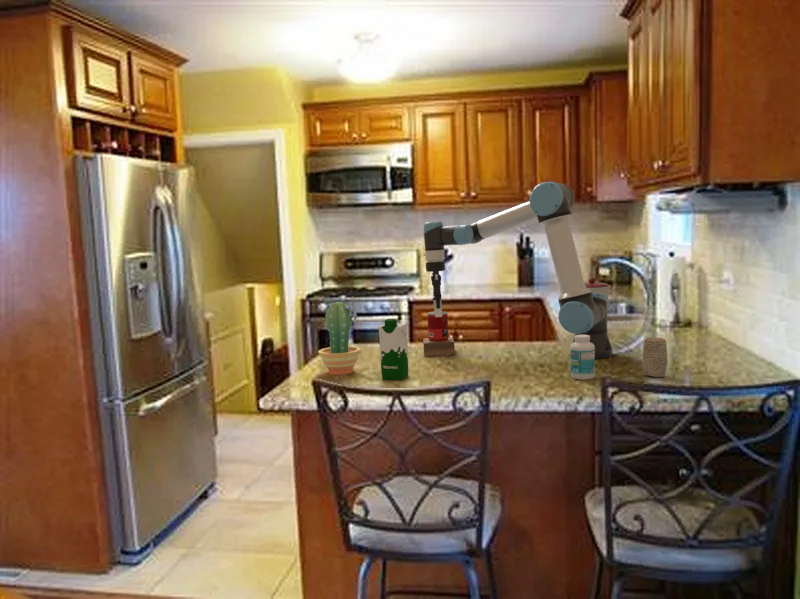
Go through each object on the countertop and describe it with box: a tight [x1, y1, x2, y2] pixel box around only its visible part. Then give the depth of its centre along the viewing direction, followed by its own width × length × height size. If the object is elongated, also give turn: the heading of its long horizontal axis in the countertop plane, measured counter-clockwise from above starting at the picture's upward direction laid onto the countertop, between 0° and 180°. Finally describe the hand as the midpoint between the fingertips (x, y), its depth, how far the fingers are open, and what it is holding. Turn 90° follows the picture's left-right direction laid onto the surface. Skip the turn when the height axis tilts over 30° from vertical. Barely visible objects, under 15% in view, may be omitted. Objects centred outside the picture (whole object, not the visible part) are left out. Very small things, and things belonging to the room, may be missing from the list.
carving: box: [642, 336, 669, 378], centre depth 207 cm, size 6×8×12 cm
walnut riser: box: [422, 336, 456, 357], centre depth 264 cm, size 12×12×5 cm
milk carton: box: [378, 318, 409, 381], centre depth 222 cm, size 9×9×20 cm
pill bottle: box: [569, 334, 596, 381], centre depth 210 cm, size 8×7×14 cm
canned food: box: [427, 310, 449, 341], centre depth 264 cm, size 8×8×11 cm
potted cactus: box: [318, 301, 362, 376], centre depth 236 cm, size 15×15×25 cm
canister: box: [584, 276, 611, 308], centre depth 339 cm, size 18×18×21 cm
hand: (438, 314), depth 263 cm, fingers open, 13 cm apart
